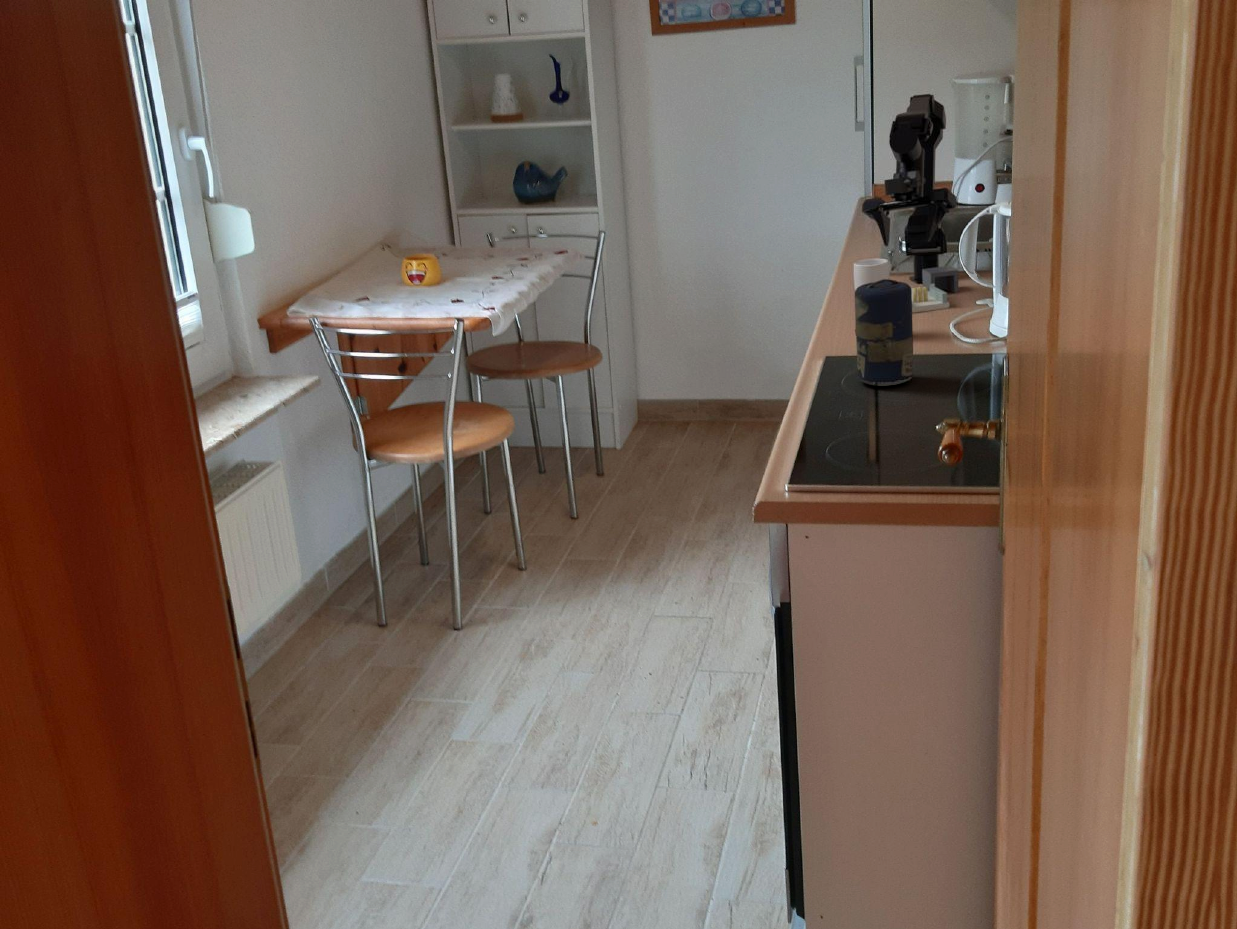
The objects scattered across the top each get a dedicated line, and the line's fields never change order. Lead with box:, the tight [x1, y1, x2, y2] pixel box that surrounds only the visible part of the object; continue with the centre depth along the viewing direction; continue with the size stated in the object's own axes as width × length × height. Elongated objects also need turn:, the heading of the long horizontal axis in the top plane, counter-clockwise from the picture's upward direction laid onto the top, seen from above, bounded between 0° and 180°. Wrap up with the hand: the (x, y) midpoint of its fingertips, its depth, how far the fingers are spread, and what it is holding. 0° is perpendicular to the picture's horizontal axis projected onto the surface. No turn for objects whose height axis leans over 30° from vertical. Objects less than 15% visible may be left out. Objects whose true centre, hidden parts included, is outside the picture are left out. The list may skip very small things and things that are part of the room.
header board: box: [911, 284, 950, 314], centre depth 260 cm, size 18×11×4 cm, turn 5°
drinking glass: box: [853, 258, 891, 292], centre depth 234 cm, size 7×7×15 cm
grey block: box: [922, 265, 960, 294], centre depth 267 cm, size 6×6×5 cm
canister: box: [854, 278, 915, 383], centre depth 204 cm, size 10×10×18 cm
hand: (907, 243), depth 251 cm, fingers open, 9 cm apart
